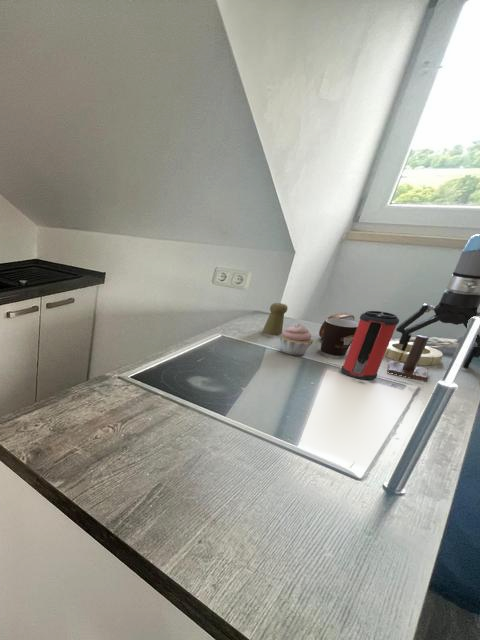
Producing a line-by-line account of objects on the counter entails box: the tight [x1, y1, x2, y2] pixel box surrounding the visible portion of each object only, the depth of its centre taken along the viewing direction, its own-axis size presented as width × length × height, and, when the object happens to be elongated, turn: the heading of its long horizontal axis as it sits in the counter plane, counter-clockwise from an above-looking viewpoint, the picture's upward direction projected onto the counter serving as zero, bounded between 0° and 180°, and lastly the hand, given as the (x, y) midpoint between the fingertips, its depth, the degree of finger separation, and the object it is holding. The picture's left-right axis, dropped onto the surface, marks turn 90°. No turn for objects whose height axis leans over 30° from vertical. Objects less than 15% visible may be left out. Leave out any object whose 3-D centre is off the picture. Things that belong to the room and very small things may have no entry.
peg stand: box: [387, 334, 430, 383], centre depth 109 cm, size 8×8×11 cm
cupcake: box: [278, 322, 314, 356], centre depth 125 cm, size 9×9×10 cm
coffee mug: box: [319, 318, 359, 357], centre depth 123 cm, size 12×9×10 cm
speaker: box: [340, 310, 400, 381], centre depth 107 cm, size 8×8×18 cm
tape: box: [384, 340, 444, 366], centre depth 121 cm, size 14×14×3 cm
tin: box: [318, 312, 355, 338], centre depth 136 cm, size 15×3×8 cm, turn 114°
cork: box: [262, 302, 289, 336], centre depth 141 cm, size 6×6×11 cm
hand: (431, 360), depth 118 cm, fingers open, 13 cm apart
